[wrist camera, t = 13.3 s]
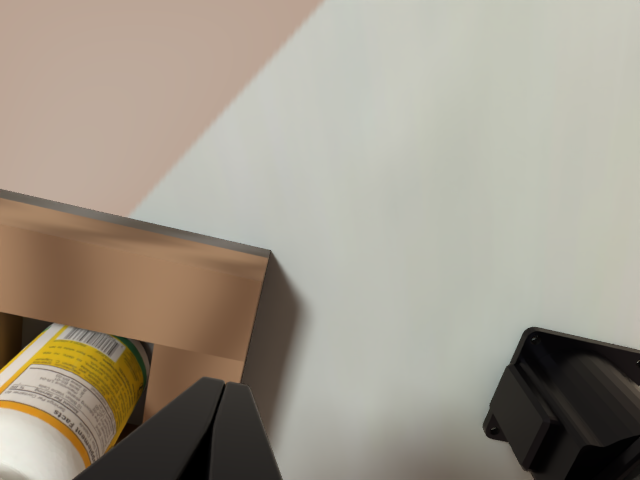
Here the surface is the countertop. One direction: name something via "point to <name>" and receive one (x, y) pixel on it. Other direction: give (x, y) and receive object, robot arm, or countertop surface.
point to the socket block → (129, 291)
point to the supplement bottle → (67, 401)
